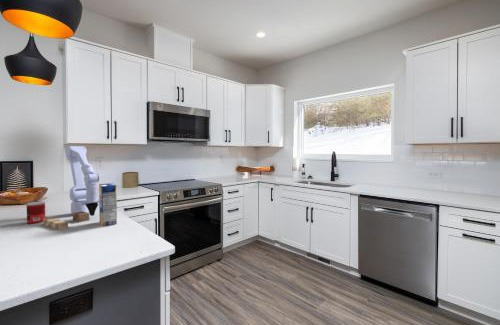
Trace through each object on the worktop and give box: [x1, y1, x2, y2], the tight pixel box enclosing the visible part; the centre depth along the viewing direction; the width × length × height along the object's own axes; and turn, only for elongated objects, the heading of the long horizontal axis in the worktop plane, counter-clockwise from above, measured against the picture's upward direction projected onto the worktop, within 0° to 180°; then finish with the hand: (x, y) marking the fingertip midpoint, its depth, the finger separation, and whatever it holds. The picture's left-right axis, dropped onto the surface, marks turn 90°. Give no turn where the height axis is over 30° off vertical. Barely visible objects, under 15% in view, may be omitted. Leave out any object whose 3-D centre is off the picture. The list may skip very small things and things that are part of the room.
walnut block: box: [72, 211, 90, 223], centre depth 144 cm, size 8×5×4 cm, turn 60°
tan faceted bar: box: [42, 217, 69, 231], centre depth 133 cm, size 18×4×3 cm, turn 60°
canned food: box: [26, 201, 46, 225], centre depth 140 cm, size 8×8×11 cm
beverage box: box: [98, 182, 118, 227], centre depth 139 cm, size 7×11×22 cm, turn 39°
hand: (92, 215), depth 150 cm, fingers closed
